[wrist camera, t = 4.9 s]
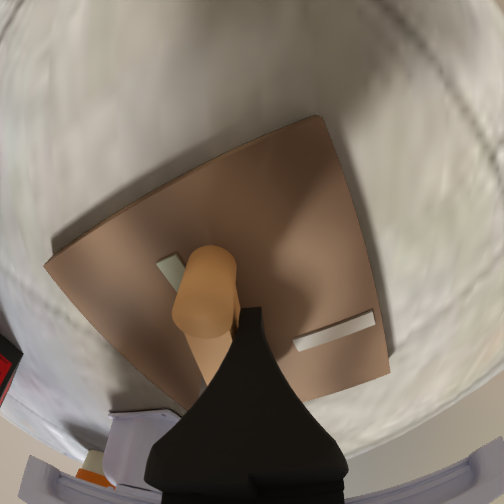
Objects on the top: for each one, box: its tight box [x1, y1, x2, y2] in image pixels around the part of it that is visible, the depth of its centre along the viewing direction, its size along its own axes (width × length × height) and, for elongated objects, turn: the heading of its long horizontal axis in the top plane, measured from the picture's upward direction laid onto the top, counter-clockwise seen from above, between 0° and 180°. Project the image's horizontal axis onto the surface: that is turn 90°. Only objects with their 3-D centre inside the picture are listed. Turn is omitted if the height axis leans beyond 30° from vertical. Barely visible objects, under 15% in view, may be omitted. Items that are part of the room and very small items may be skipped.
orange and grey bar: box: [172, 245, 240, 397], centre depth 13 cm, size 12×5×3 cm, turn 7°
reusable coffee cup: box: [76, 450, 116, 490], centre depth 33 cm, size 12×13×15 cm
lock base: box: [43, 115, 390, 411], centre depth 16 cm, size 17×19×3 cm
